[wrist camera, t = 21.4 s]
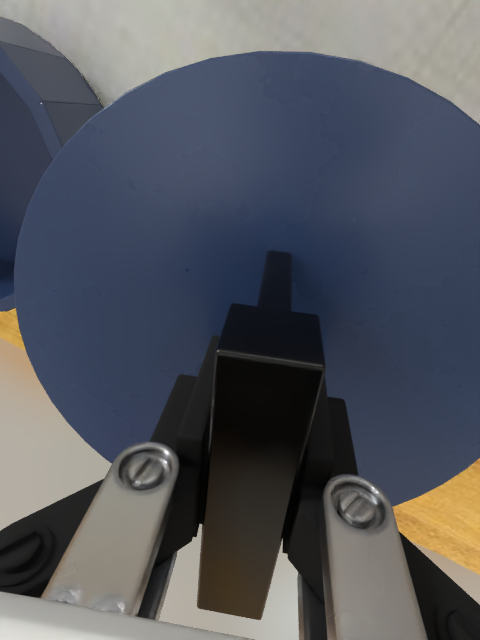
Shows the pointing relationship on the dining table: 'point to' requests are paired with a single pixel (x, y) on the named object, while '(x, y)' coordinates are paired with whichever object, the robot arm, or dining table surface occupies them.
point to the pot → (32, 128)
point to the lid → (264, 283)
